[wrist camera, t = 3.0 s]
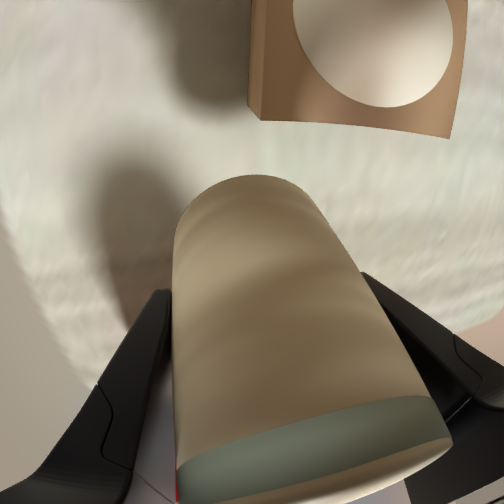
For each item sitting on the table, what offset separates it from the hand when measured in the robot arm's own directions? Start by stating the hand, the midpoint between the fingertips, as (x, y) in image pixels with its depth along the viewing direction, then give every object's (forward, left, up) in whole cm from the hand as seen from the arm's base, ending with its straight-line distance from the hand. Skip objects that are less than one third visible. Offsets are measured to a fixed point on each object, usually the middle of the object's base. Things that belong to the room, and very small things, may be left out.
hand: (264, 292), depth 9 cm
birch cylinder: (0, 0, -2) cm, 2 cm away
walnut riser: (-5, -8, -8) cm, 12 cm away
